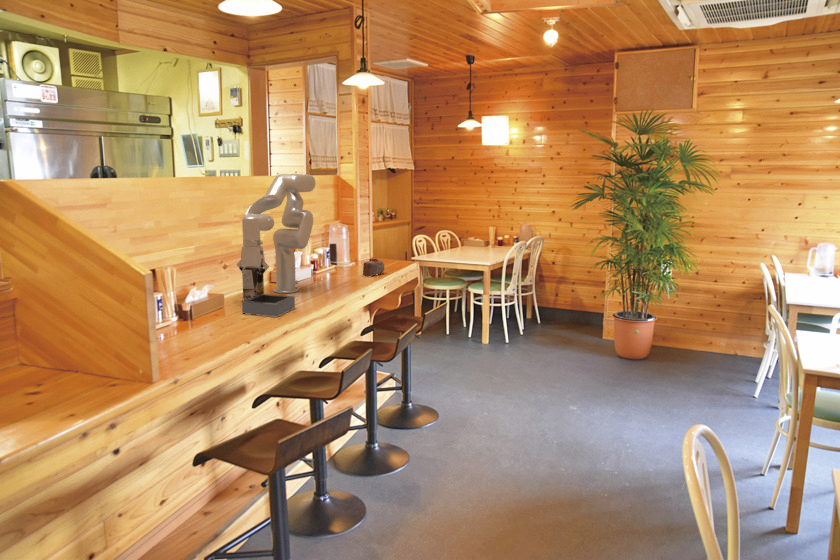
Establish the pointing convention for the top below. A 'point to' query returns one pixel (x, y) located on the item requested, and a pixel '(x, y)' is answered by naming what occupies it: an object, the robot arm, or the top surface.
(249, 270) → the coffee box
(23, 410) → the top surface
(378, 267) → the food item
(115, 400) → the top surface
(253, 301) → the socket
